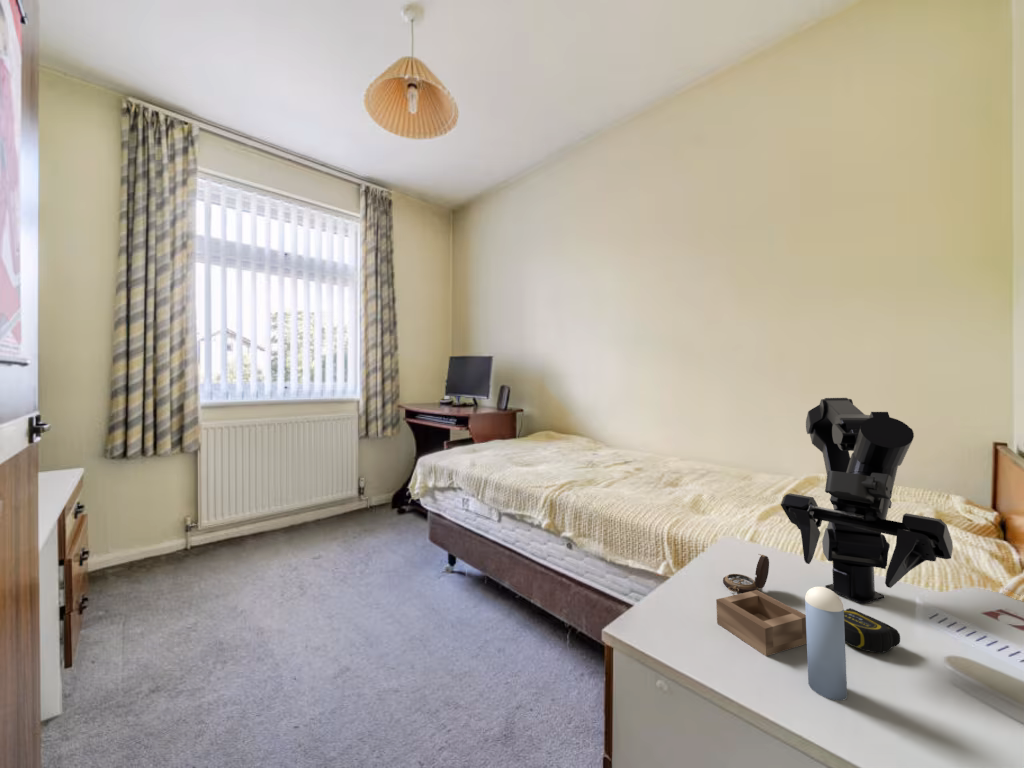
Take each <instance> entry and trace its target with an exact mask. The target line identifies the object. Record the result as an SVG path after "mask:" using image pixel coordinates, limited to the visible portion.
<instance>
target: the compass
mask: <svg viewBox="0 0 1024 768" xmlns="http://www.w3.org/2000/svg"><path fill="white" fill-rule="evenodd" d="M758 555H759V556H760V557H759V559H758V561H757V564H756V567H755V573H754V575H755V577H754V579H753V578H752V577H750V576H747V575H744V574H740V573H730V574H727V575H725V576H723V578H722V582H723V585H724V586H725V587H726V588H727V589H728V590H729V591H730V592H735V593H746V592H750V591H754V590H758V591H759V589H763V588H764V587H765V585H766V583H767V580H768V575H769V570H770V559H769V557H768V556H767V555H764V554H760V553H758Z"/></svg>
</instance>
